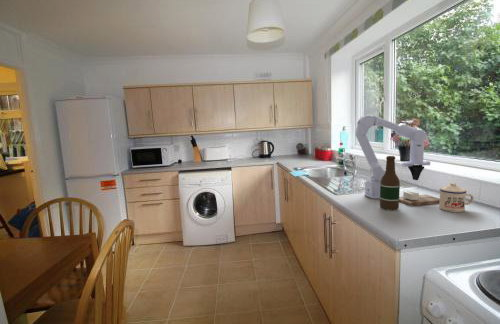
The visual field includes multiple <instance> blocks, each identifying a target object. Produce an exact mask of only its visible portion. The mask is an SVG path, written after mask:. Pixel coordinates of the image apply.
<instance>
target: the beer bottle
mask: <svg viewBox="0 0 500 324" xmlns="http://www.w3.org/2000/svg"><path fill="white" fill-rule="evenodd" d="M385 159H386V161H385V162H386V164H385V174H384V176H383V177H382V179H381V183H380V198H379V208H380V209H383V210H384V211H398V210H399V208H400V202H399V197H400V185H401V182H400V179H399V177H398V175H397V172H396V161H395V160H396V156H394V155H387V156H386V157H385Z"/></svg>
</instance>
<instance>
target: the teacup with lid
mask: <svg viewBox="0 0 500 324" xmlns="http://www.w3.org/2000/svg"><path fill="white" fill-rule="evenodd" d="M466 196H469V197H470V200H469V201H468V202H466ZM439 198H440V202H439V203H438V205H439V206H438V207H439V209H441V210H443V211H446V212H453V213H462V212H464V211H465V209H466V207H465V206H468V205H471V204H472V203H473V202H474V200H475V199H474V195H473V194H471V193H468V192H467V190H466V189H465V188H463V187H460V186H458V185H457V184H456V183H455V182H450V184H448V185H444V186H441V187H440V188H439Z"/></svg>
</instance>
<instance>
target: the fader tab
mask: <svg viewBox="0 0 500 324" xmlns="http://www.w3.org/2000/svg"><path fill="white" fill-rule="evenodd" d="M402 192H403V193H402V194H403V195H402V197H403V198H406V199H409V200H419V195H420V193H419V192H415V191H413V190H407V191H402Z"/></svg>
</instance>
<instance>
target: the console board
mask: <svg viewBox="0 0 500 324" xmlns="http://www.w3.org/2000/svg"><path fill="white" fill-rule="evenodd" d="M439 202H440V197H439V198H438V197H435V196H432V195H429V194H419V200H409V199H406V198H403V196H399V203H402V204H404V205H407V206H409V207H414V206H425V204H426V205H435V204H436V203H437V204H439Z"/></svg>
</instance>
